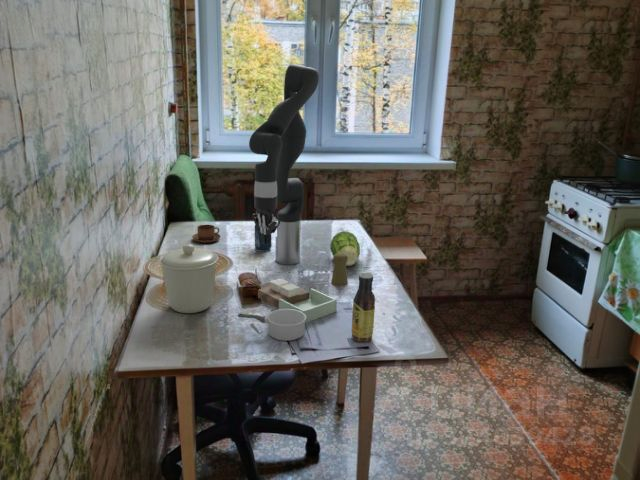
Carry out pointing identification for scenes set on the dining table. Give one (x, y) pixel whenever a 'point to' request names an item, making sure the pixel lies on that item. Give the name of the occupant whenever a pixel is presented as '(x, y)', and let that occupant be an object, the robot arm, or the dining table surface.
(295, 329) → the saucepan
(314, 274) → the dining table surface
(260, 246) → the soda can
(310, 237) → the dining table surface
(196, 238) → the cup and saucer
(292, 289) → the tile
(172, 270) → the canister
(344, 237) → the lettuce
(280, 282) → the tile
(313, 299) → the tray
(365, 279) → the sauce bottle
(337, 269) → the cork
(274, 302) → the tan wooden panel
